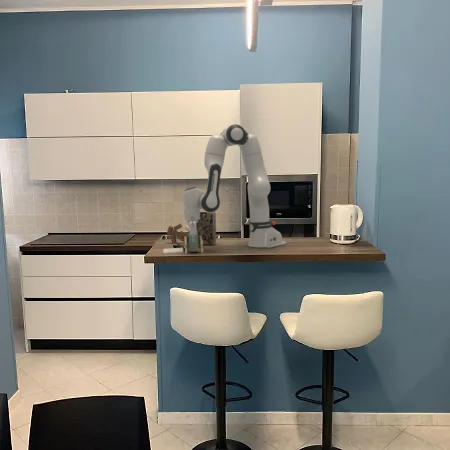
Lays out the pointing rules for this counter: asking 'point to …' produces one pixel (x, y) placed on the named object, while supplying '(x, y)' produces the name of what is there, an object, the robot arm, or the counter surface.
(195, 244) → the block
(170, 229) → the figurine
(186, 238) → the channel
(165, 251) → the mat
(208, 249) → the counter surface
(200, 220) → the stone block
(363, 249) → the counter surface
